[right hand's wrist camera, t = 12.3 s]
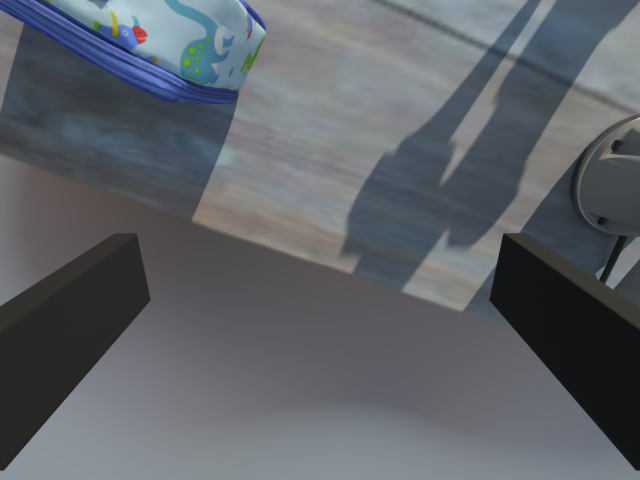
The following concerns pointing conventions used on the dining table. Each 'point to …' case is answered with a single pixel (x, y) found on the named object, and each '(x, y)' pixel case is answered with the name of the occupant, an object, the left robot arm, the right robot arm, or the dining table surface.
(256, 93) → the dining table surface
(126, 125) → the dining table surface
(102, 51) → the lunch box
